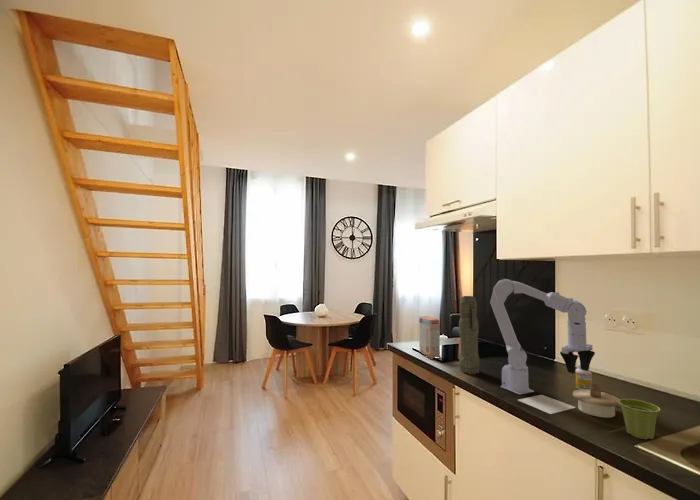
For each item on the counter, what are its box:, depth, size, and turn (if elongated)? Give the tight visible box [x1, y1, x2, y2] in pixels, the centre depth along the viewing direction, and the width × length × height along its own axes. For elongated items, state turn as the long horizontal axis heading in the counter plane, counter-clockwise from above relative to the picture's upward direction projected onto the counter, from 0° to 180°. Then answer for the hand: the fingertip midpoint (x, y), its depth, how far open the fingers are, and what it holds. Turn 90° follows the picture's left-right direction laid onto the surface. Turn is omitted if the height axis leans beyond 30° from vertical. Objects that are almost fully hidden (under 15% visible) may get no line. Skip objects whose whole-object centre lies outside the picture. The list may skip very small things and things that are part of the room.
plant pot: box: [618, 398, 661, 440], centre depth 100 cm, size 9×9×9 cm
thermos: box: [458, 295, 480, 375], centre depth 161 cm, size 9×12×35 cm
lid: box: [572, 382, 620, 407], centre depth 116 cm, size 13×13×5 cm
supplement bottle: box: [575, 362, 593, 390], centre depth 138 cm, size 5×5×10 cm
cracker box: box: [418, 315, 441, 359], centre depth 189 cm, size 14×6×21 cm, turn 12°
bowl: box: [577, 399, 616, 419], centre depth 116 cm, size 10×10×4 cm
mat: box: [517, 394, 577, 415], centre depth 122 cm, size 13×13×1 cm
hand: (578, 371), depth 126 cm, fingers open, 7 cm apart
